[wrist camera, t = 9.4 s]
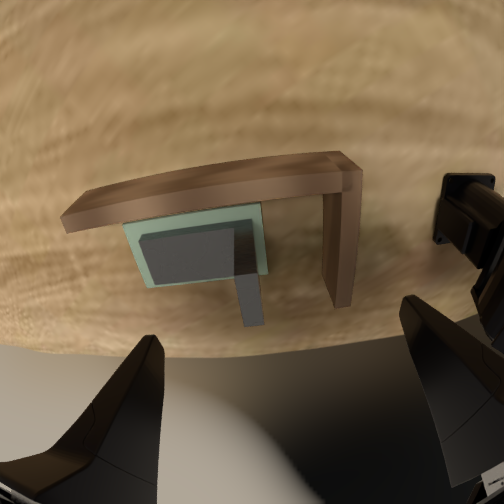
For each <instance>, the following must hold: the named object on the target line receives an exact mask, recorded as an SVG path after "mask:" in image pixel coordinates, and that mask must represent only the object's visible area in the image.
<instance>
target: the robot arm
mask: <svg viewBox="0 0 504 504" xmlns="http://www.w3.org/2000/svg"><path fill="white" fill-rule="evenodd" d="M450 178H451V180H450ZM449 180H450V181H449ZM494 185H495V176H494V175H492V174H481V173H448V174H447V175H446V176H445V178H444V184H443V190H442V196H441V202H440V208H439V213H438V218H437V223H436V228H435V233H434V237H433V241H434V242H435V243H436V244H437V245H439V244H446V243H452V244H453V245H454V246H455V247H456V248H457V249H458V250H459V251H460V253H461V254H465V256H466V257H467V258H468V259H469V260H470V261H471V262H472V263H473V265H474V266H475V267H476V268H477V269H482V272H481V274H480V276H479V278H478V280H477V282H476V284H475V285H474V286H473V287H472V289H471V291H470V292H471V295H472V297H473V300H474V302H475V305H476V308H477V311H478V314H479V316H480V323H481V325H482V327H483V328H484V331H485V332H486V334H487V336H488V337H489V338H490V339H491V341H493V342H492V343H491V345H492V347H494V348H495V349H497V350H499V351H500V352H502V353H503V354H504V198H503V197H502V196H501V195H499V194H498V193H496V192H495V191H494ZM399 317H400V321H401V324H402V327H403V331H404V334H405V338H406V341H407V345H408V348H409V352H410V354H411V357H412V359H413V362H414V365H415V367H416V370H417V373H418V375H419V378H420V381H421V384H422V386H423V389H424V392H425V395H426V398H427V401H428V404H429V407H430V410H431V413H432V416H433V419H434V422H435V425H436V429H437V432H438V436H439V439H440V442H441V447H442V450H443V454H444V457H445V462H446V466H447V470H448V474H449V479H450V483H451V486H452V487H455V486H457V485H459V484H461V483H464V482H466V481H468V480H470V479H472V478H474V477H476V476H478V475H480V474H481V475H482V479H483V480H482V481H480V482H478V483H477V484H475V487H474V489H473V491H472V493H471V495H470V497H469V499H468V501H467V503H466V504H504V358H502V357H501V356H499V355H498V354H496V353H495V352H493V351H492V350H491V349H489V348H488V347H487V346H485V345H484V344H483V343H482V344H481V342H480V341H479V340H477V339H476V338H475V337H473V336H472V335H470V334H469V333H468V332H467V331H465V330H464V329H462V328H461V327H460V326H458V325H457V324H456V323H454V322H453V321H451V320H450V319H449V318H447V317H446V316H444V315H443V314H442V313H440V312H439V311H437V310H436V309H434V308H433V307H431V306H430V305H429V304H427V303H426V302H424V301H423V300H421V299H420V298H418V297H417V296H415V295H408V296H405V297H404V298H403V300H402V304H401V307H400V311H399ZM164 360H165V353H164V348H163V347H162V345H161V343H160V341H159V340H158V338H157V337H156V335H145V336H144V337H143V338H142V339H141V340H140V341H139V343H138V344H137V345H136V346H135V347H134V349H133V350H132V351H131V352H130V354H129V355H128V356H127V357H126V359H125V360H124V361H123V362H122V364H121V365H120V366H119V367H118V369H117V370H116V371H115V372H114V374H113V375H112V376H111V378H110V379H109V380H108V382H107V383H106V384H105V385H104V386H103V388H102V389H101V390H100V392H99V393H98V394H97V395H96V397H95V398H94V399H93V401H92V403H90V404H89V406H88V407H87V408H86V409H85V411H84V412H83V413H82V415H81V416H80V417H79V418H78V419H77V420H76V422H75V423H74V424H73V425H72V426H71V427H70V428H69V430H67V431H66V433H65V434H64V435H63V436H62V437H61V438H60V439H59V440H58V441H57V442H56V443H55V444H54V445H53V446H52V447H51V448H50V449H48V450H47V451H45V452H43V453H40V454H36V455H32V456H29V457H25V458H21V459H17V460H13V461H9V462H0V482H1V483H3V484H4V485H6V486H8V487H9V488H11V489H12V490H11V492H10V491H8V490H5V489H4V488H2V487H0V504H157V478H158V459H159V444H160V431H161V419H162V408H163V399H164V363H165V361H164Z"/></svg>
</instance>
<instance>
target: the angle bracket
mask: <svg viewBox="0 0 504 504" xmlns="http://www.w3.org/2000/svg"><path fill="white" fill-rule="evenodd" d="M138 242H139V245H140V248H141V250H142V253H143V256H144V258H145V261H146V264H147V266H148V269H149V271H150V274H151V277H152V279H153V282H154V284H155V285H162V284H171V283H181V282H190V281H199V280H208V279H216V278H225V277H233V276H234V279H235V284H236V289H237V294H238V299H239V304H240V308H241V313H242V318H243V323H244V327H249V326H258V325H264V318H263V308H262V299H261V290H260V281H259V271H258V263H257V255H256V248H255V240H254V233H253V225H252V218H251V219H244V220H236V221H228V222H221V223H214V224H207V225H200V226H193V227H186V228H179V229H172V230H166V231H159V232H153V233H147V234H142V235H141V237H140V239H139V241H138Z"/></svg>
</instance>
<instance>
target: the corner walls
mask: <svg viewBox="0 0 504 504" xmlns="http://www.w3.org/2000/svg"><path fill="white" fill-rule="evenodd" d="M362 177H363V170H362V169H361V168H360V167H358V166H357V165H356V164H355V163H354V162H352V161H351V160H350V159H349V158H348V157H346V156H345V155H344V154H343V153H341V152H340V151H329V152H314V153H302V154H291V155H280V156H271V157H262V158H254V159H246V160H239V161H231V162H224V163H218V164H211V165H205V166H199V167H193V168H188V169H182V170H177V171H171V172H166V173H161V174H156V175H152V176H147V177H142V178H138V179H133V180H129V181H125V182H120V183H116V184H112V185H108V186H104V187H100V188H96V189H92V190H89V191H86V192H85V193H84V194H83V195H82V196H80V197H79V198H78V199H77V200H76V201H75V202H74V203H73V204H72V205H71V206H70V207H69V208H68V209H67V210H66V211H65V212H64V213H63V214H62V215H61V216H60V219H61V221H62V224H63V226H64V228H65V231H66V233H67V234H68V233H72V232H77V231H82V230H86V229H91V228H96V227H101V226H106V225H111V224H116V223H122V222H127V221H132V220H138V219H144V218H149V217H155V216H161V215H167V214H173V213H179V212H185V211H192V210H198V209H205V208H211V207H218V206H225V205H233V204H240V203H248V202H255V201H263V200H271V199H280V198H289V197H298V196H307V195H317V194H323V267H322V275H323V278H324V280H325V283H326V286H327V288H328V291H329V294H330V297H331V299H332V302H333V305H334V308H335V309H337V308H342V307H348V306H351V299H352V292H353V285H354V277H355V269H356V260H357V251H358V240H359V229H360V216H361V200H362Z"/></svg>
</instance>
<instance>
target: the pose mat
mask: <svg viewBox="0 0 504 504" xmlns="http://www.w3.org/2000/svg"><path fill="white" fill-rule="evenodd" d="M251 218H252V225H253V233H254V240H255V248H256V255H257V263H258V271H259V275H266V274H268V268H267V259H266V250H265V241H264V232H263V224H262V215H261V207H260V202H256V203H249V204H241V205H233V206H226V207H219V208H212V209H205V210H199V211H192V212H186V213H180V214H173V215H167V216H161V217H155V218H150V219H144V220H138V221H133V222H127V223H123V225H122V226H123V229H124V231H125V234H126V237H127V239H128V242H129V245H130V247H131V250H132V253H133V255H134V258H135V260H136V263H137V265H138V268H139V270H140V272H141V275H142V277H143V280H144V282H145V284H146V287H147V288H153V287H162V286H172V285H181V284H190V283H199V282H208V281H217V280H225V279H234V276H233V277H225V278H216V279H208V280H199V281H190V282H181V283H171V284H162V285H155V284H154V282H153V279H152V277H151V274H150V271H149V269H148V266H147V264H146V261H145V258H144V256H143V253H142V250H141V248H140V245H139V242H138V241H139V239H140V237H141V235H142V234H147V233H153V232H159V231H166V230H172V229H179V228H186V227H193V226H200V225H207V224H214V223H221V222H228V221H236V220H244V219H251Z"/></svg>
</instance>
